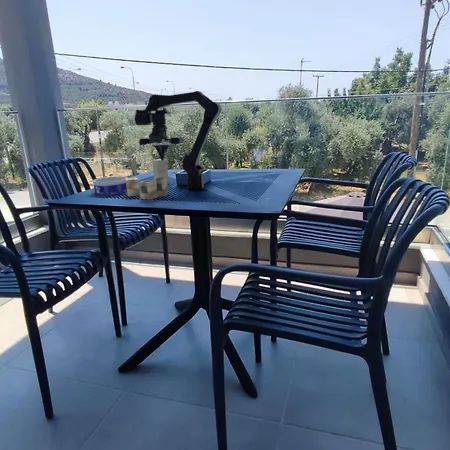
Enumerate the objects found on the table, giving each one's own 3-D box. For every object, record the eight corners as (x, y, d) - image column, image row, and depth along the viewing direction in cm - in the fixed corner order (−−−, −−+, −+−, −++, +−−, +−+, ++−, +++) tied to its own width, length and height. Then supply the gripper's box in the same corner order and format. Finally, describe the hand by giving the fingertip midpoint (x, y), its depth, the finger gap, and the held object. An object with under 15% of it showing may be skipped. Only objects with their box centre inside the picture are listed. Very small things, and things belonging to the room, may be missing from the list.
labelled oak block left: (168, 193, 155) (166, 177, 153) (165, 196, 150) (163, 179, 148) (157, 194, 155) (155, 177, 153) (153, 196, 150) (151, 179, 148)
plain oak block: (139, 193, 159) (137, 177, 157) (139, 195, 155) (137, 179, 153) (127, 194, 158) (125, 178, 156) (127, 196, 153) (125, 180, 151)
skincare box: (160, 185, 174) (157, 160, 171) (154, 184, 177) (151, 160, 173) (169, 183, 179) (167, 158, 175) (163, 182, 182) (161, 158, 178)
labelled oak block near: (157, 196, 150) (156, 179, 148) (150, 199, 145) (148, 182, 143) (148, 196, 152) (146, 179, 150) (140, 198, 148) (138, 181, 145)
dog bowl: (87, 194, 161) (85, 181, 160) (108, 188, 175) (107, 175, 173) (115, 195, 156) (113, 182, 154) (135, 188, 170) (133, 176, 168)
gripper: (131, 126, 152) (136, 163, 157) (173, 124, 149) (176, 162, 153) (142, 125, 163) (146, 159, 167) (181, 123, 159) (184, 159, 164)
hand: (162, 160), depth 163 cm, fingers closed
